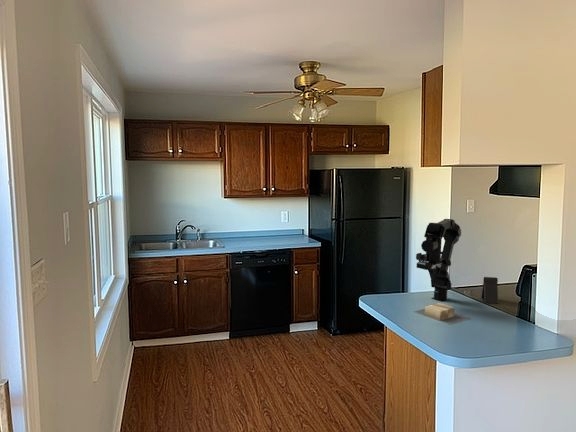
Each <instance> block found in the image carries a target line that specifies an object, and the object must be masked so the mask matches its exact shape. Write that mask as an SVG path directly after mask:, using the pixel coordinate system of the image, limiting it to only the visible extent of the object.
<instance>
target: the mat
mask: <svg viewBox="0 0 576 432" xmlns="http://www.w3.org/2000/svg"><path fill="white" fill-rule="evenodd" d="M413 313H416V314H419V315H422V316H423V317H427V318H430V319H433V320H436V321H439V322H442V323H444V324H448V325H450V326H452V325H455V324H460V323H462V322H464V321H468V320H472V317H469V316H466V315H463V314H459V313H456V312H454V316H453V317H450V318H446V319H443V320H437V319H434V318H431V317H428V316H426V315H425V308H422V309H418V310H415V311H413Z"/></svg>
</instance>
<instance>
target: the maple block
mask: <svg viewBox="0 0 576 432" xmlns="http://www.w3.org/2000/svg"><path fill="white" fill-rule="evenodd" d="M424 309H425V315H426V316H425V317H427V316H428V317H427V318H430V317H431V318H430V319H433V318H434V319H433V320H436V319H437V320H436V321H438V320H443V319H446V318H450V317H453V316H454V313H455V307H453V306H450V305H447V304H444V303H441V302H438V303H434V304H431V305H426V306H425V307H424Z"/></svg>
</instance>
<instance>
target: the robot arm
mask: <svg viewBox="0 0 576 432" xmlns="http://www.w3.org/2000/svg"><path fill="white" fill-rule="evenodd" d="M461 236H462V229H461V226H460V225H459V224H458V223H456V221H455V219H452V218H444V219H442V220H440V221H438V222H429V223H428V224H427V226H426V230H425V232H424V236H423V237H424V238H425V240H423V241H422V243H421V246H420V247H421V249H422V251H423V252H425V253H423V254H422V252H419V253H416V254H415V259H416V261H418V262H416V269H417V268H418V269H421V270H426V271H428V274H429V276H430V286H431V288H434V291H433V297H431V300H435V301H438V302H440V303H441V302H442V303H443V302H446V301H450V300H451V299H450V298H448V291H451V290H452V285H453V284H452V281H451V278H450V277H451V276H450V273H449V267H450V266H452V261H451V259H452V255H453V250H454V246H455V245H456V244H457V243H458V242H459V239H460V237H461ZM442 239H443V240H444V244H443V247H442V242H443V241H442Z"/></svg>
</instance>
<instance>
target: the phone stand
mask: <svg viewBox="0 0 576 432" xmlns="http://www.w3.org/2000/svg"><path fill="white" fill-rule="evenodd" d="M498 280H499V278H498V277H491V276H484V277H483V283H482V288H481V294H480V299H481V300H482V301H483V302H484V304H499V295H498V294H499V293H498V289H499V288H498Z"/></svg>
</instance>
